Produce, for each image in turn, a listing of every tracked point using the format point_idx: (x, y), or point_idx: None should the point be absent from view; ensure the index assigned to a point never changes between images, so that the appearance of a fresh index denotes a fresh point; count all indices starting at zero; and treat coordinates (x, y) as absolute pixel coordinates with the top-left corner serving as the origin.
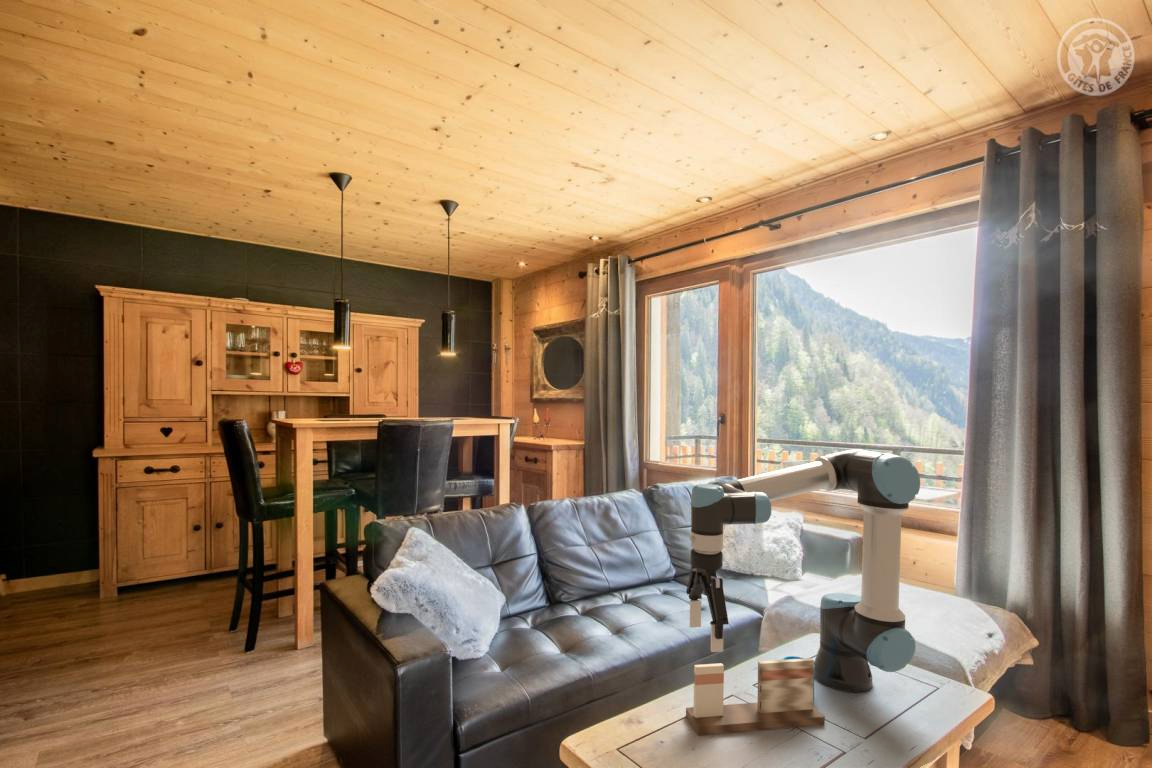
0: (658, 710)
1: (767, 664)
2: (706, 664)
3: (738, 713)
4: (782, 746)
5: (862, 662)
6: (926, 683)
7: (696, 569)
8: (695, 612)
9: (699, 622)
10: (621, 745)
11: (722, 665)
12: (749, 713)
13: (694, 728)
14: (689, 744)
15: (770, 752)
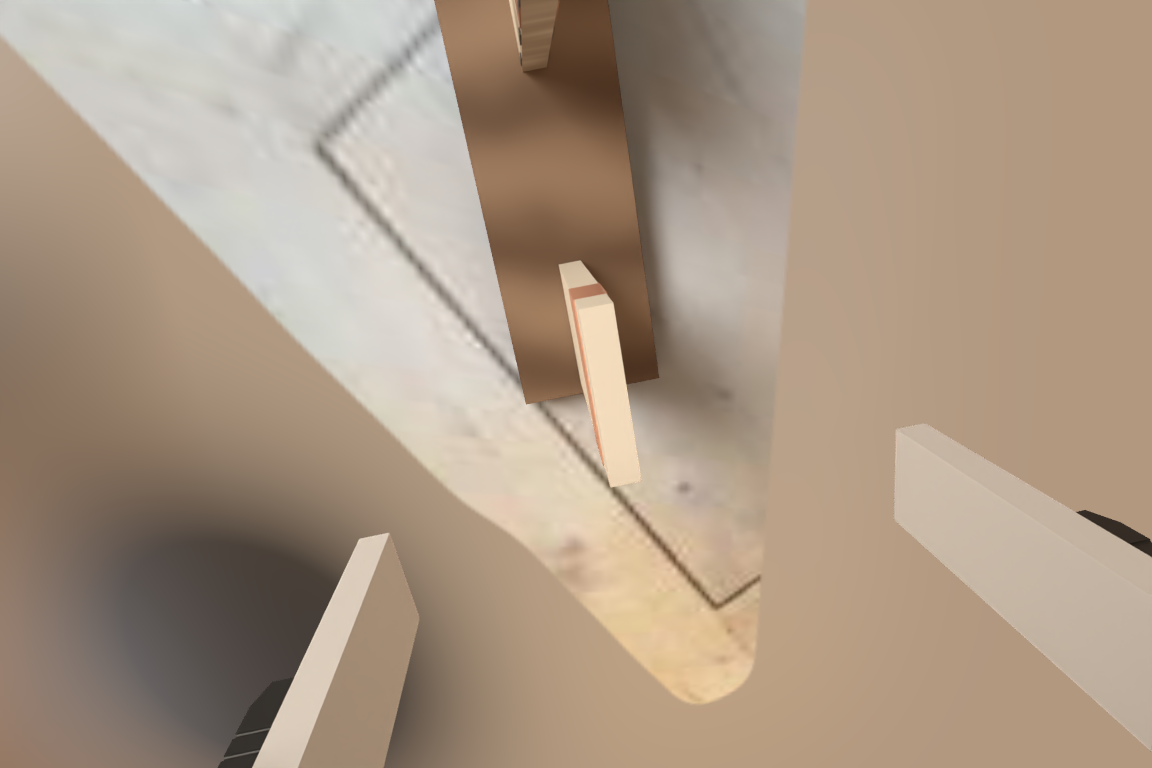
0: (496, 485)
1: None
2: (602, 415)
3: (555, 181)
4: (726, 27)
5: None
6: None
7: None
8: (371, 708)
9: (384, 575)
10: (700, 597)
11: (611, 311)
12: (551, 124)
13: None
14: (701, 403)
15: (761, 101)
